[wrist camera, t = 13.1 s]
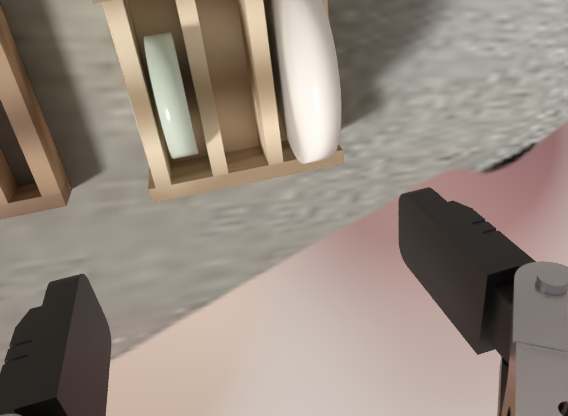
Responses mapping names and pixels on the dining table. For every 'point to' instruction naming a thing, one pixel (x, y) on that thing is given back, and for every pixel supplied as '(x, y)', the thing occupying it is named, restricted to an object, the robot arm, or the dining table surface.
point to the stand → (27, 139)
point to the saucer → (170, 94)
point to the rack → (208, 93)
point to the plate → (305, 77)
